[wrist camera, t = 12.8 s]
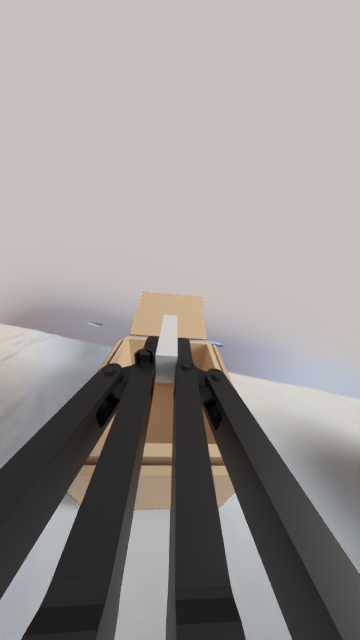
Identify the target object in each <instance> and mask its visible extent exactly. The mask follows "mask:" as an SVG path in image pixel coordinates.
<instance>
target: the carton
mask: <svg viewBox="0 0 360 640" xmlns="http://www.w3.org/2000/svg"><path fill="white" fill-rule="evenodd" d="M146 339H147V338H143V337H129V336H126V337H125V339H124V340H123V339H119V340H118V342H117V343H116V345H115V346H114V348H113V349H112V351H111V352H110V354H109V355H108V357H107V358H106V360H105V361H104V363H103V364H102V366H101V367H100V369H101V368H102V367H104V366H105V365H108V364H111V363H117V364H119V365H121V367H126V366H130V365H133V364H135V357H134V354H135V352H136V351H138V350H139V349H143V347H144V344H145V342H146ZM190 346H191V353H192V360H193V363H194V364H195V366H196V367H197V368H199V369H201V370H204V371H208V370H209V369H211V368H216V369H219V370H221V371H222V372H223V373H224V374H225V375H226V377H227V378H228V380H229V381H230V383H231V384H232V382H231V380H230V377H229V375H228V373H227V371H226V368H225V366H224V364H223V361H222V359H221V357H220V354H219V352H218V350H217V347H216V345H213V347H212V345H211V343H210V342H204V341H190ZM100 369H99V370H100ZM99 370H98V371H99ZM232 386H233V384H232ZM173 393H174V383H159V382H155V383H154V393H153V399H152V405H151V411H150V417H149V423H148V429H147V435H146V441H145V447H144V453H143V459H142V465H141V471H140V477H139V482H138V488H137V494H136V500H135V506H134V510H151V509H170V508H171V472H172V436H173V400H174V397H173ZM202 411H203V417H204V423H205V430H206V436H207V442H208V449H209V455H210V461H211V467H212V474H213V480H214V486H215V492H216V499H217V505H218V508H220V507H221V506H222V505H223V504H224V503H225V502H226V501H227V500H228V499H229V498H230V497H231V496H232V495H233V494H234V493H235V490H234V488H233V485H232V482H231V480H230V477H229V475H228V472H227V470H226V467H225V464H224V462H223V459H222V457H221V454H220V451H219V449H218V446H217V444H216V441H215V439H214V436H213V433H212V431H211V428H210V426H209V423H208V420H207V418H206V415H205V413H204V410H203V408H202ZM115 414H116V413H115ZM114 417H115V415H114ZM114 417H113V418H112V420H111V421H110V423H109V425H108V426H107V428H106V430H105V431H104V433H103V434H102V436H101V438H100V439H99V441H98V442H97V444H96V446H95V447H94V449H93V451H92V452H91V454H90V455H89V457H88V459H87V460H86V462H85V463H84V465H83V467H82V468H81V470H80V472H79V473H78V475H77V476H76V478H75V480H74V481H73V483H72V484H71V486H70V488H69V489H68V491H67V492H68V493H69V494H70V495H71V496H72V497H73V498H74V499H75V500H76V501H77V502H78V503H79V504H80V505H81V503H82V500H83V498H84V495H85V492H86V490H87V487H88V485H89V482H90V479H91V477H92V474H93V472H94V469H95V466H96V464H97V461H98V458H99V456H100V453H101V451H102V448H103V445H104V443H105V440H106V438H107V435H108V432H109V430H110V427H111V425H112V422H113V419H114Z"/></svg>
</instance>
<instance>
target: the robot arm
mask: <svg viewBox="0 0 360 640" xmlns="http://www.w3.org/2000/svg"><path fill="white" fill-rule="evenodd" d="M134 357H135V364H133V365H130V366H126V367H121V365H119V364H117V363H111V364H108V365H105V366H104V367H102V368H101V369H100V370H99V371H98V372H97V373H96V374H95V375H94V376H93V377H92V378H91V379H90V380H89V381H88V382H87V383H86V384H85V385H84V386H83V387H82V388H81V389H80V390H79V391H78V392H77V393H76V394H75V395H74V396H73V397H72V398H71V399H70V400H69V401H68V402H67V403H66V404H65V405H64V406H63V407H62V408H61V409H60V410H59V411H58V412H57V413H56V414H55V415H54V416H53V417H52V418H51V419H50V420H49V421H48V422H47V423H46V424H45V425H44V426H43V427H42V428H41V429H40V430H39V431H38V432H37V433H36V434H35V435H34V436H33V437H32V438H31V439H30V440H29V441H28V442H27V443H26V444H25V445H24V446H23V447H22V448H21V449H20V450H19V451H18V452H17V453H16V454H15V455H14V456H13V457H12V458H11V459H10V460H9V461H8V462H7V463H6V464H5V465H4V466H3V467H2V468H1V469H0V599H1V598H2V596H3V594H4V593H5V591H6V590H7V588H8V586H9V585H10V583H11V581H12V580H13V578H14V577H15V575H16V573H17V572H18V570H19V569H20V567H21V565H22V564H23V562H24V560H25V559H26V557H27V556H28V554H29V552H30V551H31V549H32V548H33V546H34V544H35V543H36V541H37V539H38V538H39V536H40V535H41V533H42V531H43V530H44V528H45V527H46V525H47V523H48V522H49V520H50V518H51V517H52V515H53V514H54V512H55V510H56V509H57V507H58V506H59V504H60V502H61V501H62V499H63V497H64V496H65V494H66V493H67V491H68V489H69V488H70V486H71V484H72V483H73V481H74V480H75V478H76V476H77V475H78V473H79V472H80V470H81V468H82V467H83V465H84V463H85V462H86V460H87V459H88V457H89V455H90V454H91V452H92V451H93V449H94V447H95V446H96V444H97V442H98V441H99V439H100V438H101V436H102V434H103V433H104V431H105V430H106V428H107V426H108V425H109V423H110V421H111V420H112V418H113V417H114V415H115V417H114V419H113V422H112V425H111V427H110V430H109V432H108V435H107V438H106V440H105V443H104V445H103V448H102V451H101V453H100V456H99V458H98V461H97V464H96V466H95V469H94V472H93V474H92V477H91V479H90V482H89V485H88V487H87V490H86V492H85V495H84V498H83V500H82V503H81V505H80V508H79V511H78V513H77V516H76V518H75V521H74V524H73V526H72V529H71V531H70V534H69V537H68V539H67V542H66V544H65V547H64V550H63V552H62V555H61V558H60V560H59V563H58V565H57V568H56V571H55V573H54V576H53V578H52V581H51V583H50V586H49V588H48V591H47V593H46V595H45V597H44V600H43V602H42V604H41V606H40V608H39V610H38V611H37V613H36V615H35V616H34V618H33V620H32V622H31V623H30V625H29V627H28V628H27V630H26V632H25V634H24V635H23V637H22V639H21V640H114V637H115V630H116V624H117V616H118V609H119V599H120V591H121V584H122V578H123V572H124V566H125V560H126V554H127V548H128V542H129V536H130V530H131V524H132V518H133V512H134V506H135V500H136V494H137V488H138V482H139V477H140V471H141V465H142V459H143V453H144V447H145V441H146V435H147V429H148V423H149V417H150V411H151V405H152V399H153V393H154V383H155V382H159V383H174V393H173V397H174V400H173V436H172V472H171V508H170V544H169V579H168V599H167V618H166V640H246V639H245V635H244V631H243V627H242V622H241V619H240V616H239V613H238V610H237V607H236V604H235V601H234V598H233V593H232V589H231V585H230V579H229V574H228V568H227V561H226V555H225V549H224V543H223V536H222V530H221V524H220V518H219V511H218V505H217V499H216V492H215V486H214V480H213V474H212V467H211V461H210V455H209V449H208V442H207V436H206V430H205V423H204V417H203V411H202V408H203V410H204V413H205V415H206V418H207V420H208V423H209V426H210V428H211V431H212V433H213V436H214V439H215V441H216V444H217V446H218V449H219V451H220V454H221V457H222V459H223V462H224V464H225V467H226V470H227V472H228V475H229V477H230V480H231V482H232V485H233V488H234V490H235V493H236V495H237V498H238V501H239V503H240V506H241V508H242V511H243V513H244V516H245V519H246V521H247V524H248V526H249V529H250V532H251V534H252V537H253V539H254V542H255V544H256V547H257V550H258V552H259V555H260V557H261V560H262V562H263V565H264V568H265V570H266V573H267V575H268V578H269V581H270V583H271V586H272V588H273V591H274V593H275V596H276V599H277V601H278V604H279V606H280V609H281V612H282V614H283V617H284V619H285V622H286V624H287V627H288V630H289V632H290V635H291V637H292V640H360V574H359V573H358V571H357V570H356V568H355V567H354V565H353V564H352V562H351V561H350V559H349V558H348V556H347V555H346V553H345V552H344V551H343V549H342V548H341V546H340V545H339V543H338V542H337V540H336V539H335V537H334V536H333V534H332V533H331V531H330V530H329V528H328V527H327V525H326V524H325V522H324V521H323V519H322V518H321V516H320V515H319V513H318V512H317V510H316V509H315V507H314V506H313V504H312V503H311V501H310V500H309V498H308V497H307V496H306V494H305V493H304V491H303V490H302V488H301V487H300V485H299V484H298V482H297V481H296V479H295V478H294V476H293V475H292V473H291V472H290V470H289V469H288V467H287V466H286V464H285V463H284V461H283V460H282V458H281V457H280V455H279V454H278V452H277V451H276V449H275V448H274V446H273V445H272V443H271V442H270V441H269V439H268V438H267V436H266V435H265V433H264V432H263V430H262V429H261V427H260V426H259V424H258V423H257V421H256V420H255V418H254V417H253V415H252V414H251V412H250V411H249V409H248V408H247V406H246V405H245V403H244V402H243V400H242V399H241V397H240V396H239V394H238V393H237V391H236V390H235V388H234V387H233V386H232V384H231V383H230V381H229V380H228V378H227V377H226V375H225V374H224V373H223V372H222V371H221V370H219V369H216V368H211V369H209V370H208V371H204V370H201V369H199V368H197V367H196V366H195V364H194V363H193V360H192V353H191V346H190V341H189V340H188V339H187V338H177V316H175V315H164V318H163V322H162V327H161V332H160V336H159V337H156V336H149V337H148V338H147V339H146V342H145V344H144V347H143V349H139V350H138V351H136V352H135V354H134ZM115 413H116V414H115Z"/></svg>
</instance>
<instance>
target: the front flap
mask: <svg viewBox="0 0 360 640" xmlns="http://www.w3.org/2000/svg"><path fill="white" fill-rule="evenodd" d="M164 315H175V316H177V338H187V339H191V340H207V338H206V337H207V336H206V328H205V319H204V312H203V302H202V297H193V296H183V295H172V294H160V293H150V292H142V295H141V299H140V302H139V306H138V309H137V312H136V316H135V319H134V323H133V326H132V330H131V333H130V335H132V336H147V337H149V336H156V337H159V336H160V332H161V327H162V322H163V318H164Z"/></svg>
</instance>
